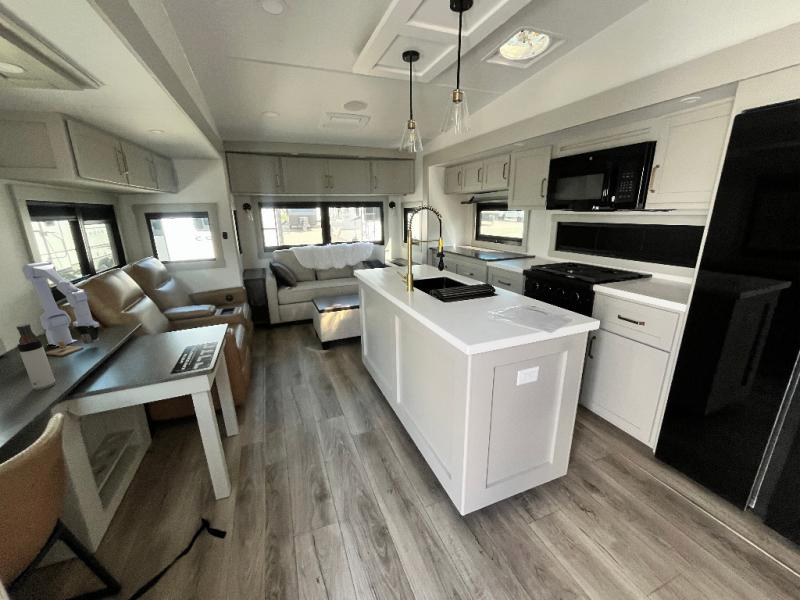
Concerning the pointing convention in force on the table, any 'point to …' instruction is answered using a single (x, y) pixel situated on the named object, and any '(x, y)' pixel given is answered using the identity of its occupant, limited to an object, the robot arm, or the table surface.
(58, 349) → the brown peg board
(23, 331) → the sauce bottle
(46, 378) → the travel mug
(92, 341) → the octagonal steel tube
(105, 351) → the table surface
